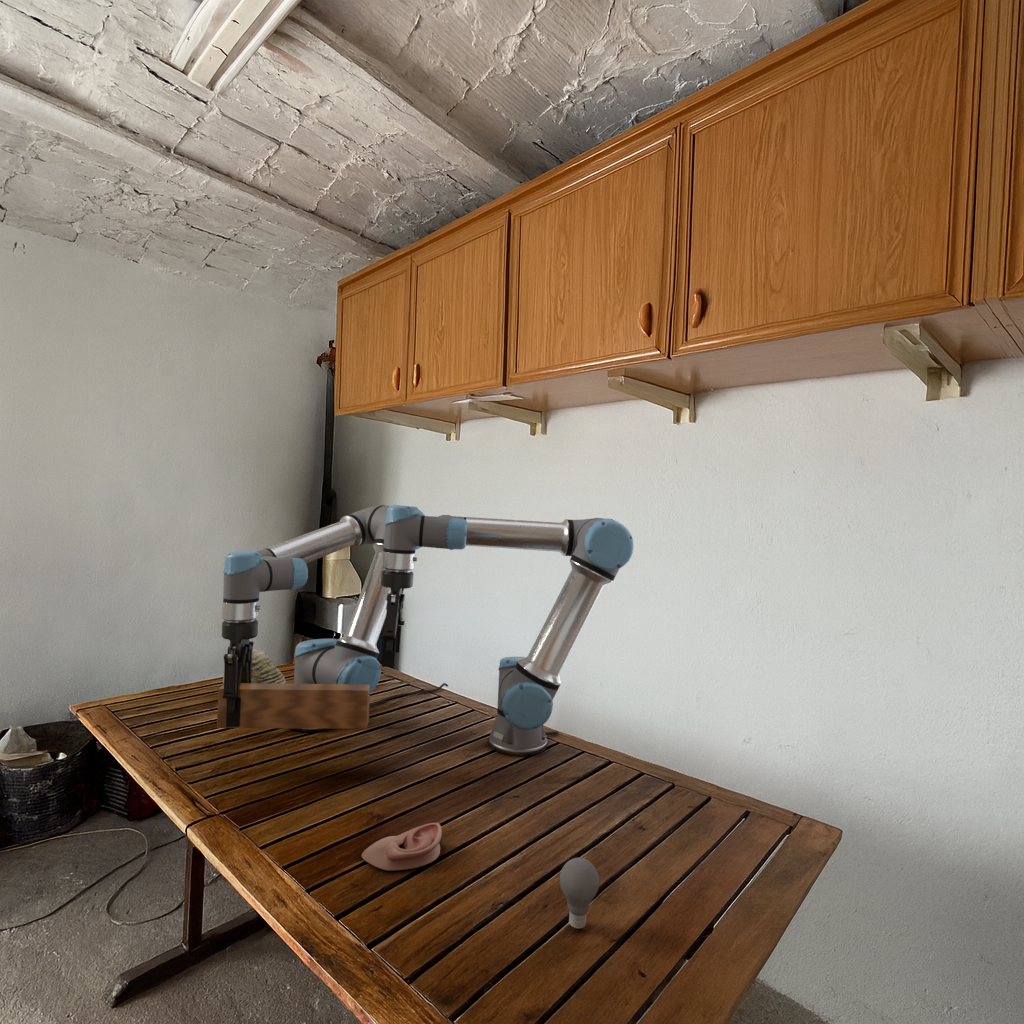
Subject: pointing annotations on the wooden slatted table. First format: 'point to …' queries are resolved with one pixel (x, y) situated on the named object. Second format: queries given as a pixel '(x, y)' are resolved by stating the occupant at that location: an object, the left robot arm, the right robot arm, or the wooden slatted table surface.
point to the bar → (299, 706)
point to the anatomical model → (406, 849)
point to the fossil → (264, 669)
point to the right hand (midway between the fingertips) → (390, 659)
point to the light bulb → (579, 888)
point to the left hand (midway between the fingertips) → (236, 721)
